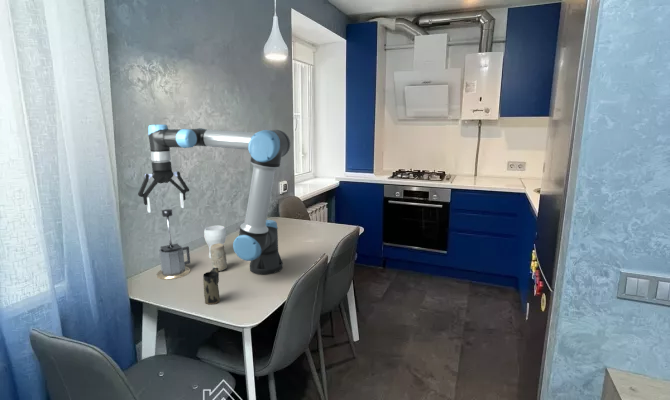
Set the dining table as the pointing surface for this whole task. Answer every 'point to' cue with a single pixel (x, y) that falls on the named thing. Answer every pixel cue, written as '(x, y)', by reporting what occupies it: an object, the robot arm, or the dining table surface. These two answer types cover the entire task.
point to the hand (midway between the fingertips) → (166, 209)
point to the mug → (211, 286)
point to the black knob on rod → (166, 214)
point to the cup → (214, 236)
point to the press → (173, 262)
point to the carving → (218, 256)
